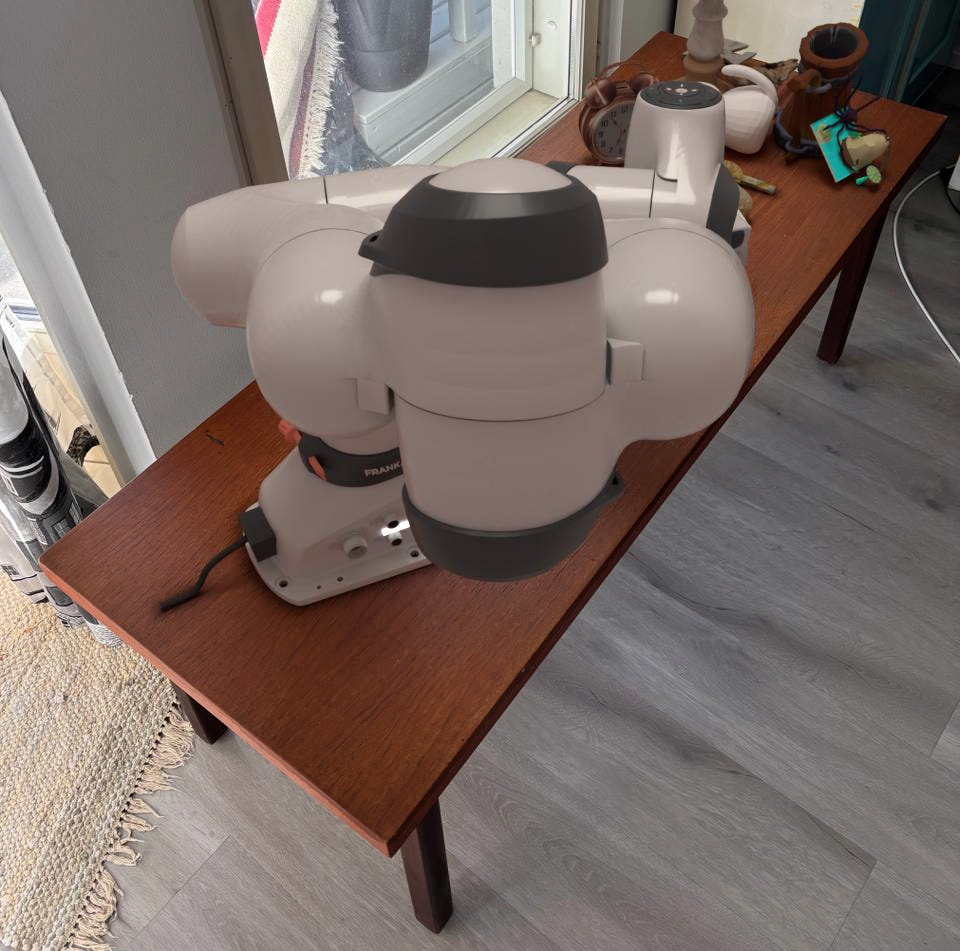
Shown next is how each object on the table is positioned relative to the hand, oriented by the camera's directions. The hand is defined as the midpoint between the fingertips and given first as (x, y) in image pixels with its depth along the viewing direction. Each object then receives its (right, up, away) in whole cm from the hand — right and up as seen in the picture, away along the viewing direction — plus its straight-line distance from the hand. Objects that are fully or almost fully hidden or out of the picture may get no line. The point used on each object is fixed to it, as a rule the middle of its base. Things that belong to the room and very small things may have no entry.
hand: (652, 346), depth 106 cm
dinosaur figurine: (+23, +42, +37) cm, 61 cm away
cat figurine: (+23, +36, +32) cm, 53 cm away
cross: (+16, +56, +54) cm, 79 cm away
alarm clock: (+1, +31, +36) cm, 47 cm away
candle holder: (+15, +43, +44) cm, 63 cm away
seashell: (+13, +21, +27) cm, 37 cm away
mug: (+28, +33, +35) cm, 56 cm away
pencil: (+6, +33, +33) cm, 47 cm away
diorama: (+32, +33, +30) cm, 54 cm away
